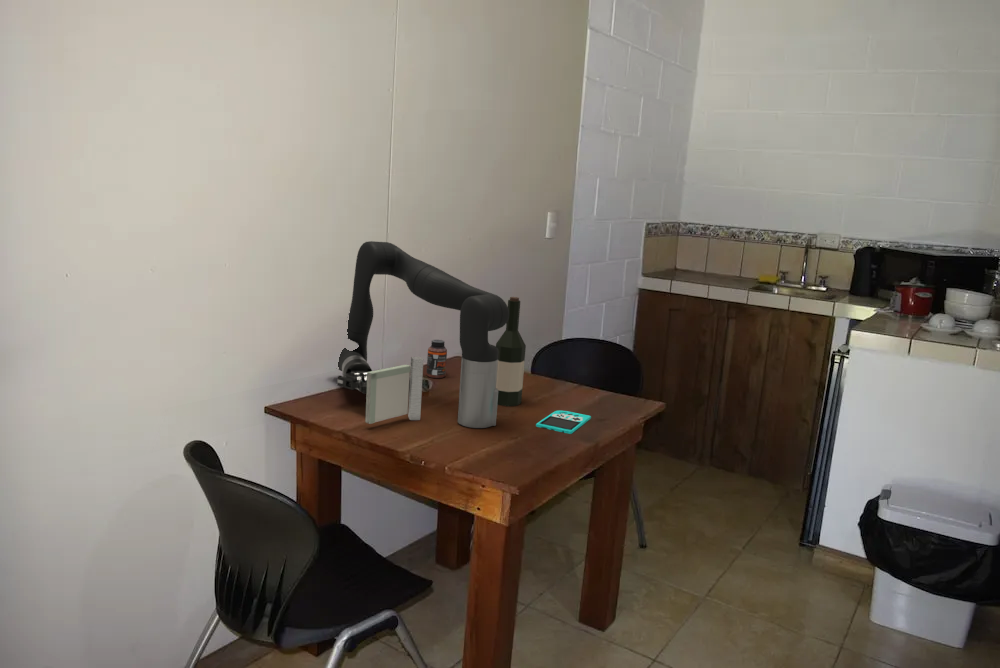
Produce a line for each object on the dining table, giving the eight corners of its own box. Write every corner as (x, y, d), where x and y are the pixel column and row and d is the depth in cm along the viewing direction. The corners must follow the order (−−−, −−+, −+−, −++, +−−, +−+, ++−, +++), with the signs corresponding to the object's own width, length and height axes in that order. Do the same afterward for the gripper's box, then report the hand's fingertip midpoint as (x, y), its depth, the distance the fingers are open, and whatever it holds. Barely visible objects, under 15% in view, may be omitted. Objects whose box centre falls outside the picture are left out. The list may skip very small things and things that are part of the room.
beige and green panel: (403, 412, 199) (406, 364, 196) (408, 414, 198) (410, 365, 195) (365, 422, 189) (367, 372, 187) (369, 424, 188) (371, 373, 186)
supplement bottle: (438, 379, 237) (440, 343, 235) (422, 376, 240) (424, 340, 238) (449, 376, 242) (451, 340, 240) (433, 372, 245) (435, 337, 243)
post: (418, 416, 201) (421, 356, 198) (420, 419, 199) (423, 359, 195) (408, 417, 200) (411, 356, 197) (410, 420, 198) (413, 359, 195)
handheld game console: (591, 420, 211) (592, 415, 210) (571, 436, 196) (572, 431, 196) (557, 413, 215) (557, 408, 214) (535, 428, 200) (535, 423, 200)
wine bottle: (492, 405, 215) (499, 299, 209) (491, 396, 224) (498, 294, 217) (522, 407, 216) (530, 301, 210) (520, 398, 224) (528, 296, 218)
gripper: (332, 358, 210) (340, 376, 194) (381, 358, 214) (392, 375, 198) (331, 385, 212) (339, 404, 196) (380, 384, 216) (391, 403, 200)
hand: (366, 390), depth 197 cm, fingers closed
